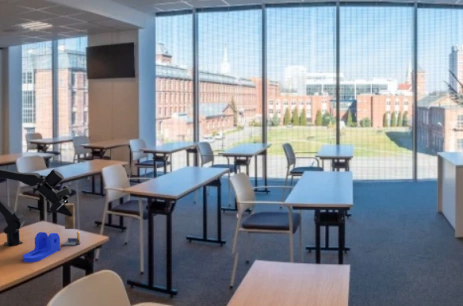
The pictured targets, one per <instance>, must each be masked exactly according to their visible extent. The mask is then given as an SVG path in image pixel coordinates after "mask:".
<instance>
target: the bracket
mask: <svg viewBox="0 0 463 306" xmlns="http://www.w3.org/2000/svg"><path fill="white" fill-rule="evenodd" d="M59 251H61V238H60V234H58V233H56V232H50V233H49V234H47V232H44V231H38V233H37V234H36V235H35V238H34V249H32V250H31V251H29V252H27V253H24V254H23V255H22V261H23V262H24V263H35V262H36V263H37V262H40V261H42V260H43V259H45V258H48V257H49V256H51V255H53V254H56V253H58V252H59Z"/></svg>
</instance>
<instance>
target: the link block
mask: <svg viewBox="0 0 463 306" xmlns="http://www.w3.org/2000/svg"><path fill="white" fill-rule="evenodd" d="M75 205H76V204H75V203H73V202H72V203H70V202H69V203H66V208H67V209H68V210H69V211H70V212H71V214H72V216H71V217H70V216H67V215H64V230H74V229H75V228H76V209H75Z"/></svg>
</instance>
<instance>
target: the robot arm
mask: <svg viewBox="0 0 463 306" xmlns="http://www.w3.org/2000/svg"><path fill="white" fill-rule="evenodd" d="M0 178H1V179H8V180H10V181H11V180H12V181H17V182H20V183H22V184H24V185H27V186H30V187H33V188H32V194H33V195H34V194H36V193H37V192H38V193H39V194H40V195H41V196H42V197H43V198H44V200H45V201H46V202H49V203H50V205H51V206H50V207H49V212H50V213H51V214H54V213H58V214H61V215H64V216H65V215H67V216H70V217H71V216H72V214H71V212H70V211H69V210H68V209H67V208H66V203H70V199H69V198H70V194H72V189H71V188H72V187H70V186H68V185H63V186H62V189H60V190H58V189H55V188H53V187H57V186H58V185H59V184H60V183H61V182H62V181H63V180H65V177H64V175H63V174H62V173H61V172H60V171H58V170H56V169H52V170H50V172H49V173H48V174H47V175H42V174H40V173H38V172H21V171H14V170H10V169H5V168H0ZM35 186H36V187H35ZM0 214H1V215H2V216H3V218H4V220H5V223H6V224H7V226H6V227H5V228H3V230H2V231H3V232H4V234H5V235H6V241H5V242H4V245H6V246H9V247H12V246H17V245H20V244H23V243H24V242H23V241H22V240H21V237H20V235H21V234H20V229H21V227H22V226H23V225H24V224H25V220H26V219H25V217H24V216H25V215H23V214H22V213H21V212H20V210H19V209H17V210H16V211H15V210H13V209H12V207H10V206H9V205H8V203H6V202H5V201H4V200H3V198H2V197H0Z"/></svg>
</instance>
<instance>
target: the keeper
mask: <svg viewBox="0 0 463 306" xmlns="http://www.w3.org/2000/svg"><path fill="white" fill-rule="evenodd" d="M80 243H82V242H81V240H80V231H77V232H76V237H68V238H67V240H65V242H64V243H62V246H64V247H75V246H77V245H81V244H80Z"/></svg>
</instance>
